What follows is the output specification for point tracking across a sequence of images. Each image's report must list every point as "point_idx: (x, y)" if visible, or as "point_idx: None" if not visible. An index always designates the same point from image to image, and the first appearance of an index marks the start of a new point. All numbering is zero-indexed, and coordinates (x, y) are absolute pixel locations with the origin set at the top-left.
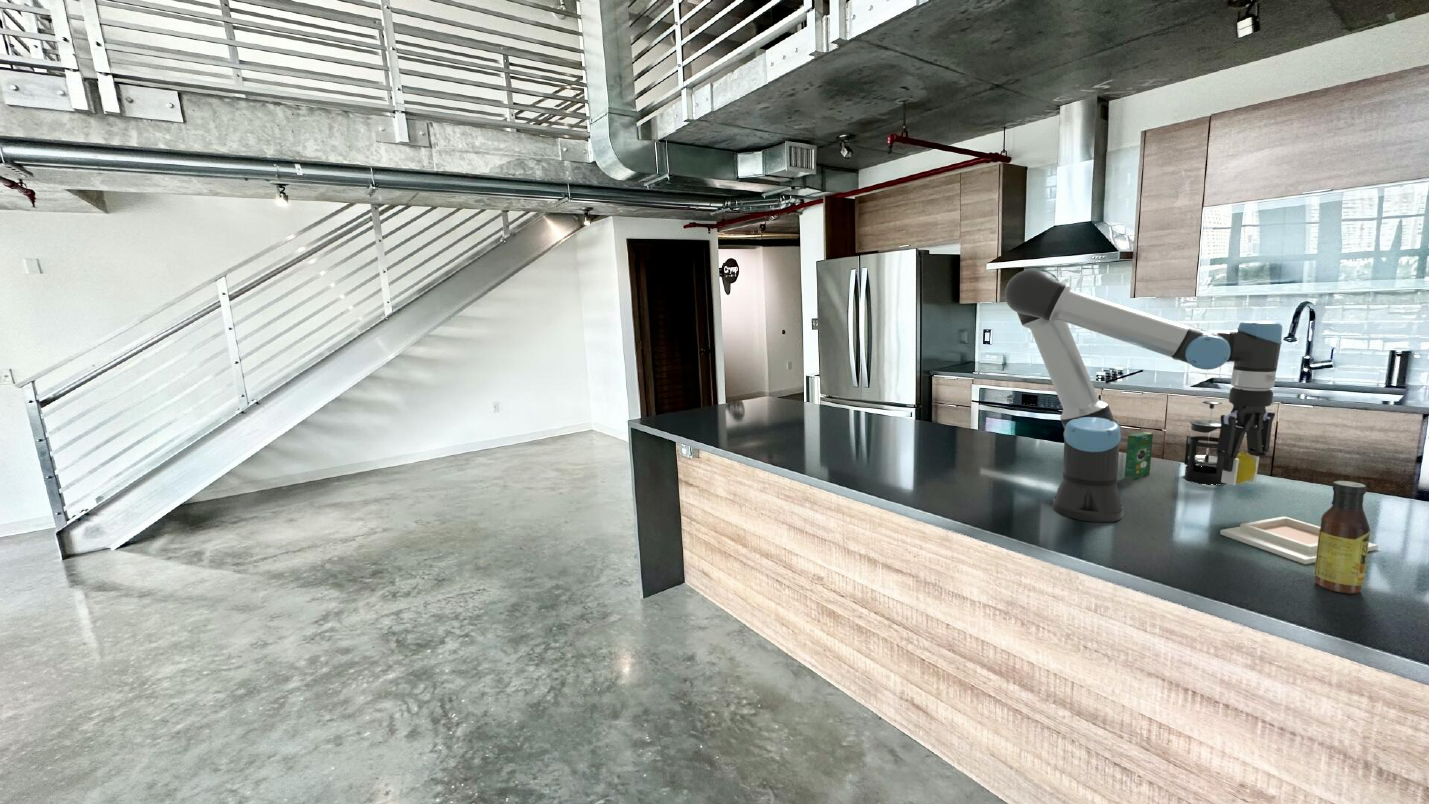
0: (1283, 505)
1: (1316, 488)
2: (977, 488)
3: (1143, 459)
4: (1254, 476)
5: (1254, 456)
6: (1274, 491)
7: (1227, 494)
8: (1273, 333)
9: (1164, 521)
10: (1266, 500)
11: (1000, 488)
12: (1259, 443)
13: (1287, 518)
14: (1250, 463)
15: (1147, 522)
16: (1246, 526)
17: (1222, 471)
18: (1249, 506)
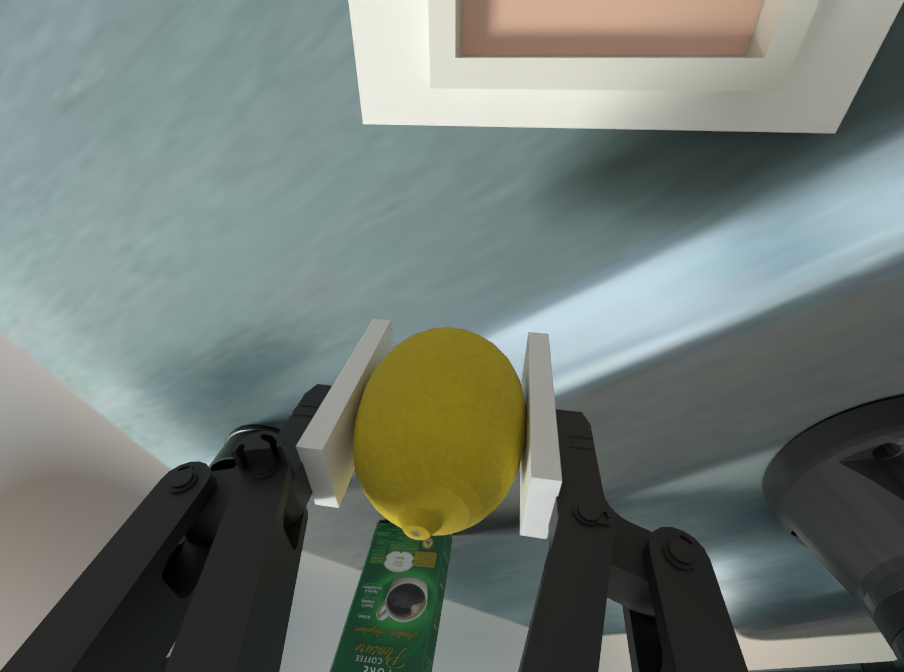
0: (221, 256)
1: (3, 310)
2: (868, 629)
3: (397, 579)
4: (375, 342)
5: (326, 461)
6: (150, 344)
7: (311, 383)
8: None
9: (800, 324)
10: (238, 308)
11: (820, 611)
12: (236, 582)
13: (452, 52)
14: (453, 409)
15: (869, 342)
16: (794, 51)
17: (236, 464)
18: (344, 296)
